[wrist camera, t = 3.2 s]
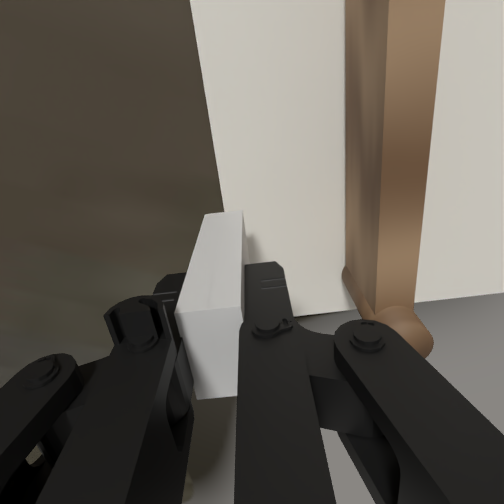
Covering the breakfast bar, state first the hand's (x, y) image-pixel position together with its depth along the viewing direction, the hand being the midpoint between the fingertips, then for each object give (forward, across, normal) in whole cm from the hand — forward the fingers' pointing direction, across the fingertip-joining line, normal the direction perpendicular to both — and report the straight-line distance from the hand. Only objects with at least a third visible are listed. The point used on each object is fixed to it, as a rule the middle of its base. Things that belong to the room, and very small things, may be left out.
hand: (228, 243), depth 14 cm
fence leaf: (+2, +6, +3) cm, 7 cm away
